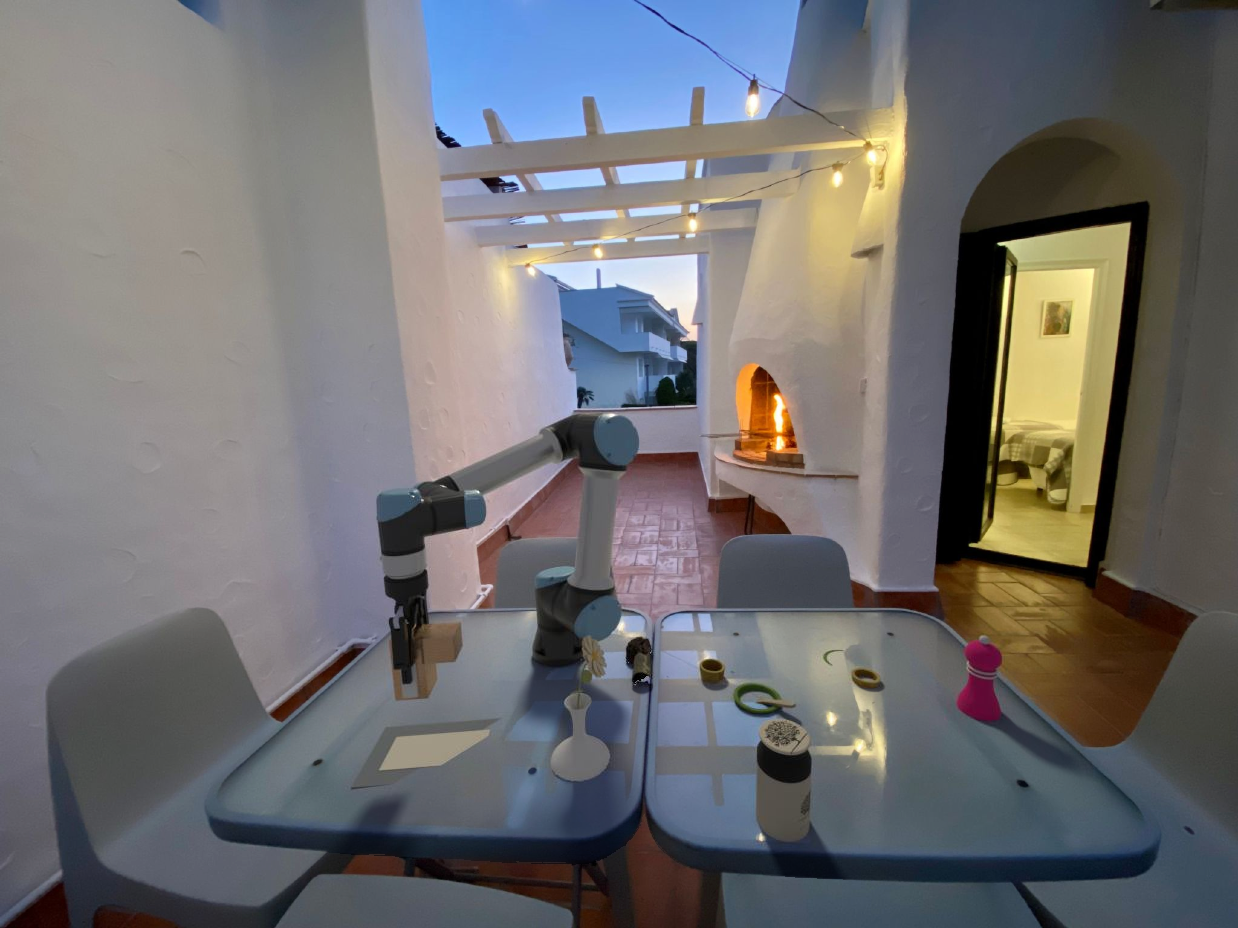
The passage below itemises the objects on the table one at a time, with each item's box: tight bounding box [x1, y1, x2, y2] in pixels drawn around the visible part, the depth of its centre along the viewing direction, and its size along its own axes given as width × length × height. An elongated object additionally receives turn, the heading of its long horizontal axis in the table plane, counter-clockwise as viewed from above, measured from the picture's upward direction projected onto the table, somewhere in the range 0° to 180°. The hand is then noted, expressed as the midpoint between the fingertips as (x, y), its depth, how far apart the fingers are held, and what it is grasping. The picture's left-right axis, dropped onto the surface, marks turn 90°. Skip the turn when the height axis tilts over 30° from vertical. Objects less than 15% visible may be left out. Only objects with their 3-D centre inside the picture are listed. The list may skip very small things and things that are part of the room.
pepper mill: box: [956, 634, 1003, 722], centre depth 99 cm, size 7×7×20 cm
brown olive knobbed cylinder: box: [625, 636, 653, 685], centre depth 124 cm, size 18×7×6 cm, turn 176°
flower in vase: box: [550, 635, 611, 782], centre depth 92 cm, size 13×11×25 cm
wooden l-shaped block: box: [388, 621, 464, 702], centre depth 95 cm, size 6×12×12 cm, turn 94°
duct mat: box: [350, 717, 502, 789], centre depth 98 cm, size 26×16×1 cm, turn 94°
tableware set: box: [698, 649, 882, 715], centre depth 114 cm, size 41×28×6 cm
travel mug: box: [755, 718, 813, 843], centre depth 76 cm, size 8×8×18 cm
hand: (416, 685), depth 95 cm, fingers closed on wooden l-shaped block, 6 cm apart
